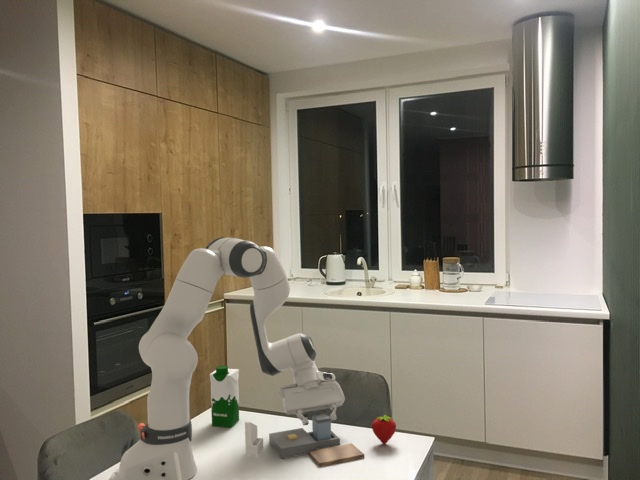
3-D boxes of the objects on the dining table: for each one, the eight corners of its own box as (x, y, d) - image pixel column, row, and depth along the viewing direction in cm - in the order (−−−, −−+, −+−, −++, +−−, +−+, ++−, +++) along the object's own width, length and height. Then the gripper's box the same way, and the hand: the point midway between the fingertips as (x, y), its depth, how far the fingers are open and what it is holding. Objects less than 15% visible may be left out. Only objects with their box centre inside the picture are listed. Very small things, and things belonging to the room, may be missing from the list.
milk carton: (208, 427, 181) (206, 368, 180) (219, 417, 189) (218, 361, 189) (232, 429, 178) (231, 369, 178) (242, 419, 187) (241, 362, 186)
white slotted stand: (240, 453, 154) (244, 422, 158) (250, 457, 163) (254, 427, 167) (252, 454, 153) (256, 422, 157) (262, 458, 162) (265, 428, 166)
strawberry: (371, 439, 169) (371, 407, 168) (396, 439, 168) (395, 408, 167) (371, 447, 163) (371, 414, 162) (396, 447, 162) (396, 415, 161)
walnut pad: (319, 466, 150) (319, 463, 150) (308, 454, 158) (308, 451, 158) (364, 457, 156) (364, 454, 156) (351, 446, 163) (351, 443, 163)
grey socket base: (281, 458, 156) (281, 446, 156) (269, 443, 167) (269, 431, 167) (342, 447, 163) (342, 435, 163) (326, 432, 174) (326, 421, 174)
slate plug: (318, 446, 164) (317, 420, 164) (312, 440, 168) (312, 415, 168) (331, 443, 166) (330, 418, 166) (325, 438, 170) (325, 413, 170)
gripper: (280, 381, 171) (291, 422, 162) (338, 373, 178) (352, 412, 170) (276, 391, 175) (286, 432, 166) (333, 383, 183) (346, 421, 174)
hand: (320, 422), depth 168 cm, fingers open, 8 cm apart
